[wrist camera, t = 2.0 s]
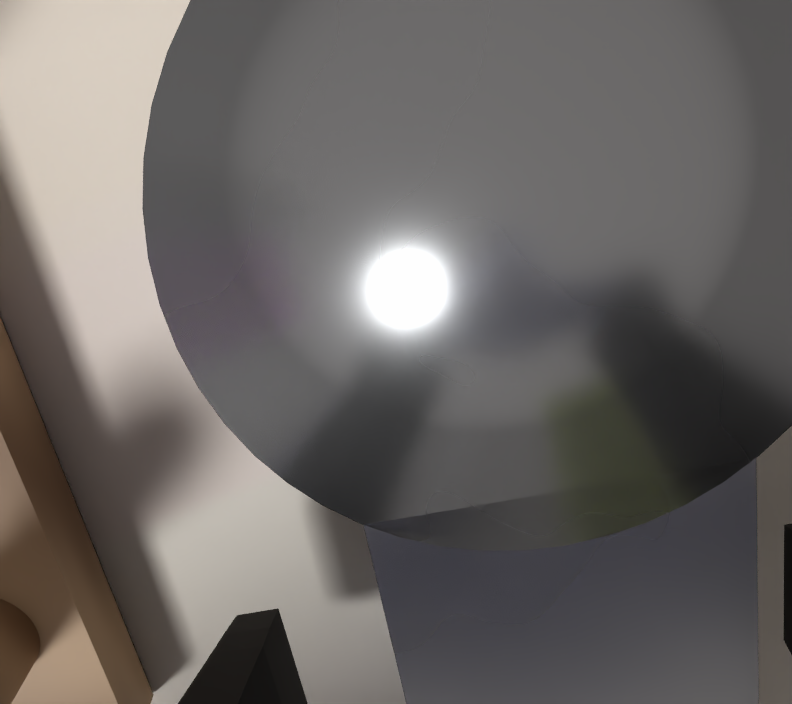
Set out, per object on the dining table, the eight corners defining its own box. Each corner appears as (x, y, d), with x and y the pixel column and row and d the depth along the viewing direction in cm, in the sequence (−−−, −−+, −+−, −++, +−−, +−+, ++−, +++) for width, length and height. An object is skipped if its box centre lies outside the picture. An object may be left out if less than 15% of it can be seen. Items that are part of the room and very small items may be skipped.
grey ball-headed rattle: (696, 908, 15) (836, 1283, 11) (453, 942, 15) (485, 1324, 11) (637, -114, 9) (940, -316, 4) (212, -24, 9) (25, -114, 4)
